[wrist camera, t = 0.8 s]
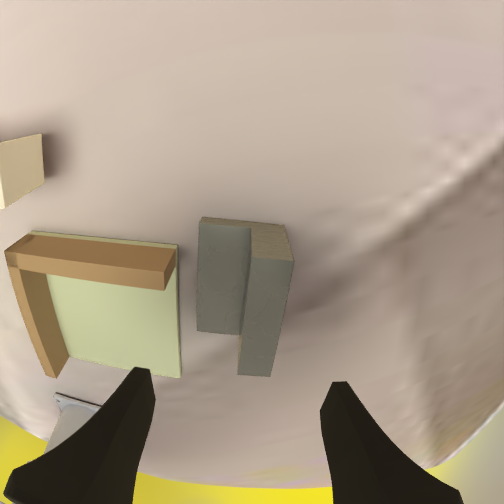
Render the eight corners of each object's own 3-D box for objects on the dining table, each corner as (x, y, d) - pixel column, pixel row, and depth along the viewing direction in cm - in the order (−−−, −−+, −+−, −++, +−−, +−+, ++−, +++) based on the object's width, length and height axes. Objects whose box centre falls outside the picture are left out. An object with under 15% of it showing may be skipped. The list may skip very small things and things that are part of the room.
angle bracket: (266, 326, 22) (270, 376, 18) (198, 320, 22) (188, 369, 17) (283, 224, 19) (294, 261, 14) (202, 216, 19) (187, 250, 14)
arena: (181, 373, 24) (174, 405, 21) (61, 349, 24) (46, 375, 20) (177, 244, 19) (163, 272, 16) (31, 230, 19) (4, 250, 15)
